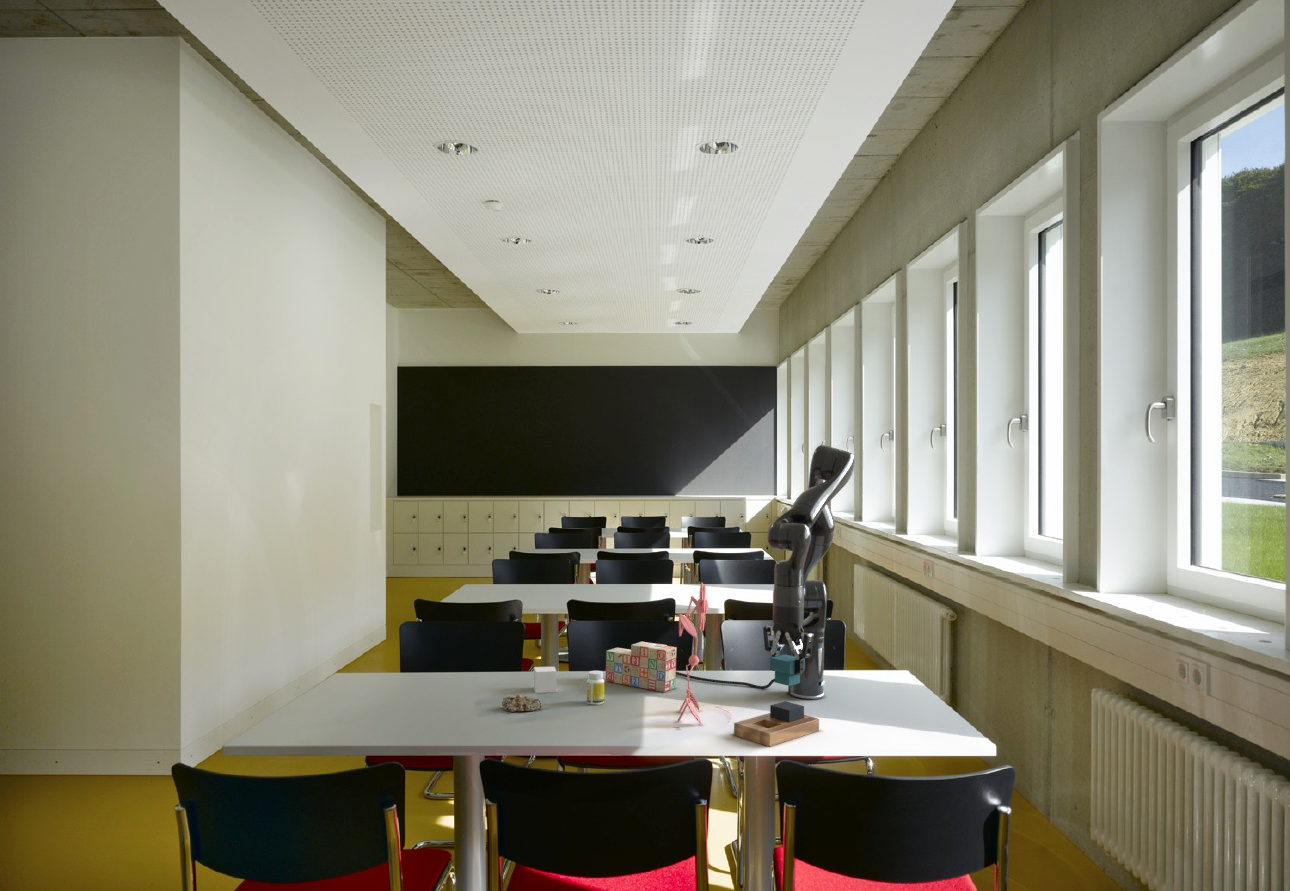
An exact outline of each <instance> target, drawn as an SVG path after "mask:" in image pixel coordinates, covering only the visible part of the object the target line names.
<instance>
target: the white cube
mask: <svg viewBox="0 0 1290 891" xmlns="http://www.w3.org/2000/svg"><path fill="white" fill-rule="evenodd" d="M557 673H558V672H557V668H556V667H555V666H534V667H533V690H534V693H535V694H541V693H542V694H543V693H545V694H546V693H557V676H558V675H557Z"/></svg>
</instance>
